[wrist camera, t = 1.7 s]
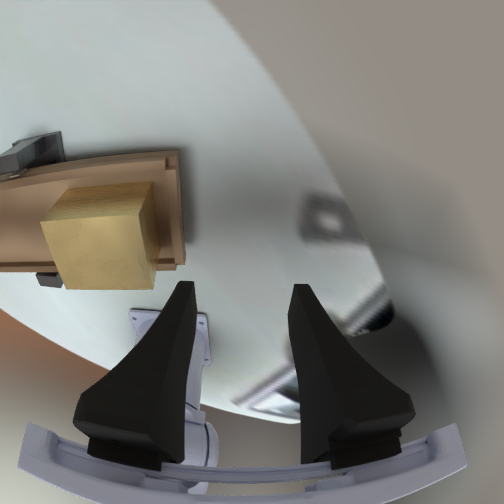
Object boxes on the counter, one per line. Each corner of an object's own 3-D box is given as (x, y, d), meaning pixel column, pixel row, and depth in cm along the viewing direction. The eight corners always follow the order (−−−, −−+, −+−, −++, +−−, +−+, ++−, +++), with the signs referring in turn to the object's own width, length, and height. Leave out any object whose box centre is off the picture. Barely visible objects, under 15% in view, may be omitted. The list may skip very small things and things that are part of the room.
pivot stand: (90, 258, 23) (72, 289, 20) (49, 256, 22) (30, 284, 19) (60, 131, 16) (28, 150, 13) (16, 141, 15) (-15, 160, 12)
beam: (185, 255, 21) (184, 271, 20) (-29, 261, 18) (-37, 272, 17) (178, 148, 16) (175, 158, 15) (-56, 191, 13) (-67, 201, 12)
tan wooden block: (160, 248, 19) (153, 289, 16) (84, 250, 18) (66, 289, 15) (152, 181, 16) (138, 214, 13) (67, 189, 15) (39, 222, 12)
